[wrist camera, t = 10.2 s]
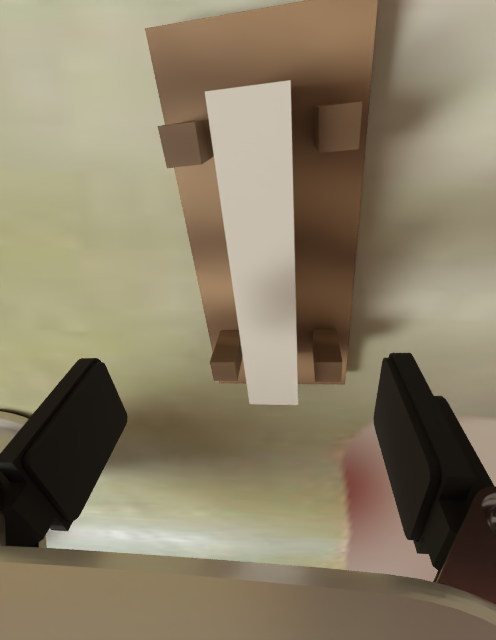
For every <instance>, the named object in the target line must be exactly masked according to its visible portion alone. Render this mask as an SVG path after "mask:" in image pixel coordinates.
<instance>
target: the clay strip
mask: <svg viewBox="0 0 496 640" xmlns="http://www.w3.org/2000/svg"><path fill="white" fill-rule="evenodd" d="M205 98H206V105H207V111H208V118H209V125H210V132H211V139H212V146H213V153H214V160H215V167H216V174H217V181H218V188H219V195H220V202H221V209H222V216H223V223H224V230H225V237H226V244H227V251H228V258H229V265H230V272H231V279H232V286H233V292H234V299H235V306H236V313H237V320H238V327H239V334H240V341H241V348H242V355H243V362H244V369H245V376H246V383H247V390H248V397H249V404H266V405H298V360H297V313H296V268H295V224H294V179H293V135H292V90H291V80H288V81H280V82H273V83H265V84H258V85H250V86H243V87H235V88H228V89H220V90H213V91H205Z"/></svg>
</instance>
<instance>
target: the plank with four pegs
mask: <svg viewBox="0 0 496 640" xmlns="http://www.w3.org/2000/svg"><path fill="white" fill-rule="evenodd" d="M377 5H378V0H308V1H302V2H296V3H290V4H284V5H279V6H273V7H267V8H261V9H255V10H249V11H244V12H238V13H232V14H226V15H220V16H215V17H209V18H203V19H197V20H191V21H185V22H180V23H174V24H168V25H162V26H156V27H151V28H145V31H146V36H147V40H148V45H149V50H150V55H151V60H152V64H153V69H154V74H155V79H156V83H157V88H158V93H159V98H160V102H161V107H162V112H163V117H164V122H165V125H163V126H158V129H159V134H160V138H161V143H162V147H163V152H164V157H165V161H166V166H167V168H173V167H174V169H175V174H176V179H177V184H178V188H179V193H180V198H181V203H182V207H183V212H184V217H185V222H186V227H187V231H188V236H189V241H190V246H191V250H192V255H193V260H194V265H195V270H196V274H197V279H198V284H199V289H200V293H201V298H202V303H203V308H204V312H205V317H206V322H207V327H208V332H209V336H210V341H211V346H212V351H213V355H212V358H211V361H210V365H211V369H212V374H213V378H214V381H219V383H246V376H245V369H244V362H243V355H242V348H241V341H240V334H239V327H238V320H237V313H236V306H235V299H234V292H233V286H232V279H231V272H230V265H229V258H228V251H227V244H226V237H225V230H224V223H223V216H222V209H221V202H220V195H219V188H218V181H217V174H216V167H215V160H214V153H213V146H212V139H211V132H210V125H209V118H208V111H207V105H206V98H205V91H213V90H220V89H228V88H235V87H243V86H250V85H258V84H265V83H273V82H280V81H288V80H291V90H292V135H293V179H294V224H295V268H296V313H297V360H298V384H345V378H346V366H347V355H348V343H349V331H350V320H351V308H352V296H353V285H354V273H355V261H356V250H357V238H358V226H359V215H360V203H361V192H362V180H363V168H364V157H365V145H366V133H367V122H368V110H369V98H370V87H371V75H372V63H373V52H374V40H375V28H376V17H377Z"/></svg>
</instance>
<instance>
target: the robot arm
mask: <svg viewBox="0 0 496 640" xmlns="http://www.w3.org/2000/svg"><path fill="white" fill-rule="evenodd" d="M126 423H127V413H126V411H125V408H124V406H123V404H122V402H121V399H120V397H119V395H118V393H117V390H116V388H115V386H114V384H113V381H112V379H111V377H110V374H109V372H108V370H107V368H106V365H105V364H104V363H103V362H101V361H100V360H99V359H97V358H82V359H79V360H78V361H77V362H76V363H75V364H74V366H73V367H72V368H71V369H70V370H69V372H68V373H67V374H66V375H65V376H64V378H63V379H62V380H61V381H60V382H59V384H58V385H57V386H56V387H55V388H54V390H53V391H52V392H51V393H50V394H49V396H48V397H47V398H46V399H45V400H44V402H43V403H42V404H41V405H40V406H39V408H38V409H37V410H36V411H35V412H34V414H33V415H32V416H31V417H30V418H26V417H23V416H20V415H17V414H13V413H8V412H2V411H0V640H496V487H495V486H494V485H493V483H492V481H491V479H490V477H489V476H488V474H487V472H486V470H485V469H484V467H483V465H482V463H481V462H480V460H479V458H478V456H477V454H476V452H475V451H474V449H473V447H472V445H471V443H470V442H469V440H468V438H467V436H466V434H465V433H464V431H463V429H462V427H461V426H460V424H459V422H458V420H457V418H456V416H455V415H454V413H453V411H452V409H451V407H450V406H449V404H448V402H447V401H446V399H445V398H443V397H442V396H433V394H432V392H431V390H430V388H429V386H428V384H427V382H426V380H425V378H424V377H423V375H422V373H421V371H420V369H419V367H418V365H417V363H416V361H415V359H414V357H413V356H412V354H411V353H391V354H390V355H389V358H384V359H383V361H382V367H381V374H380V380H379V386H378V393H377V399H376V405H375V412H374V426H375V430H376V434H377V437H378V441H379V444H380V448H381V451H382V455H383V459H384V462H385V466H386V469H387V473H388V476H389V480H390V483H391V487H392V490H393V494H394V497H395V501H396V505H397V508H398V512H399V515H400V519H401V522H402V526H403V530H404V533H405V536H406V538H407V539H408V540H413V541H414V544H415V547H416V551H417V553H420V554H429V556H430V559H431V562H432V565H433V567H435V568H436V569H437V570H438V572H437V574H436V576H435V578H434V581H433V582H430V581H425V580H422V579H416V578H409V577H402V576H395V575H389V574H380V573H370V572H359V571H349V570H339V569H328V568H317V567H304V566H291V565H278V564H265V563H252V562H240V561H227V560H213V559H199V558H185V557H171V556H157V555H143V554H129V553H115V552H100V551H84V550H69V549H54V548H47V546H46V538H45V535H46V533H47V531H48V530H49V528H50V529H51V530H58V531H68V530H69V528H70V526H71V524H72V522H73V520H76V519H77V518H78V517H79V515H80V514H81V512H82V510H83V508H84V506H85V504H86V502H87V500H88V498H89V496H90V494H91V492H92V490H93V488H94V486H95V484H96V482H97V481H98V479H99V477H100V475H101V473H102V471H103V469H104V467H105V465H106V463H107V461H108V459H109V457H110V455H111V453H112V451H113V449H114V447H115V445H116V443H117V441H118V439H119V437H120V435H121V434H122V432H123V430H124V428H125V426H126Z"/></svg>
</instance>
